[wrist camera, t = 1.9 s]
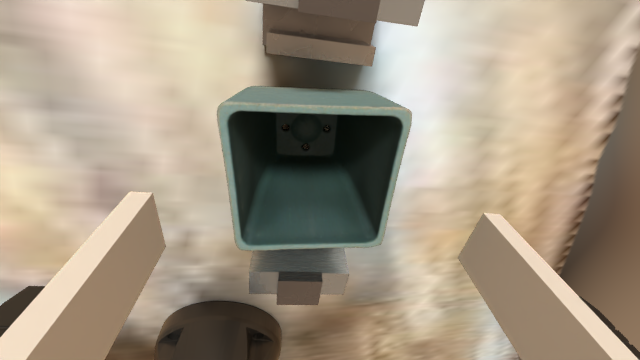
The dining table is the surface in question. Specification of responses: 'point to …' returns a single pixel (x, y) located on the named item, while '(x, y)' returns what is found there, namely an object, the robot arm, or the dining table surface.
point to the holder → (330, 45)
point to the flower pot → (311, 166)
